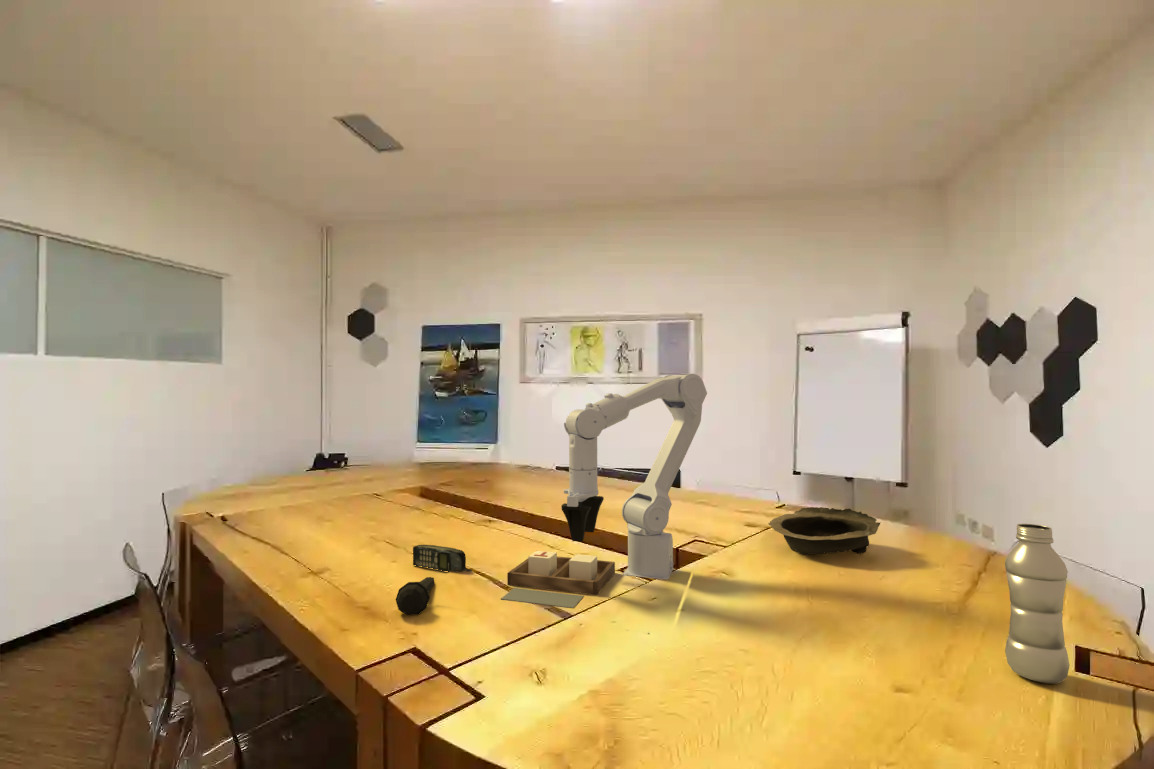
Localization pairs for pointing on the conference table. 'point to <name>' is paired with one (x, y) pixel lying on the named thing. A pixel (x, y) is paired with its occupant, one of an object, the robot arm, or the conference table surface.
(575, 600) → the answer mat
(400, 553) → the conference table surface
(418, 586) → the microphone
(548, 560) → the letter cube
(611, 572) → the organizer
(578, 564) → the blank cube
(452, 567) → the mobile phone
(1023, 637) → the plastic bottle
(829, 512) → the stone bowl
